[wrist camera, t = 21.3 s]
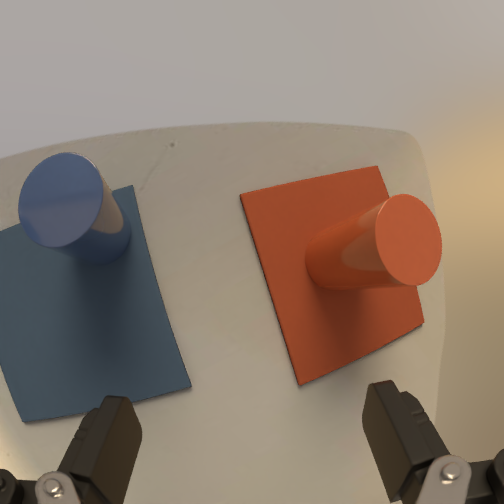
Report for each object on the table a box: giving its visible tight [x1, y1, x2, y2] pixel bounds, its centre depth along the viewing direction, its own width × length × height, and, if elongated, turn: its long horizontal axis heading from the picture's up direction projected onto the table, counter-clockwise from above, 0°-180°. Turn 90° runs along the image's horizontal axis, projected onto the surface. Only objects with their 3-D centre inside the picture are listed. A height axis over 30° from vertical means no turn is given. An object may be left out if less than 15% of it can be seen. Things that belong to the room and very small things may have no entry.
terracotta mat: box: [240, 166, 424, 385], centre depth 26 cm, size 16×14×1 cm
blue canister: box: [18, 152, 131, 266], centre depth 17 cm, size 5×5×9 cm
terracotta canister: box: [305, 194, 442, 291], centre depth 21 cm, size 5×5×10 cm
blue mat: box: [0, 185, 191, 422], centre depth 21 cm, size 16×16×1 cm
